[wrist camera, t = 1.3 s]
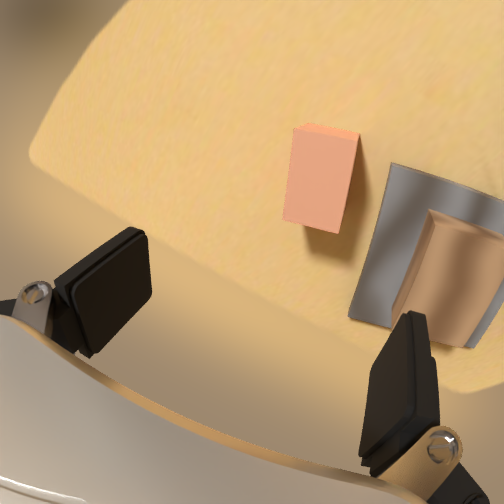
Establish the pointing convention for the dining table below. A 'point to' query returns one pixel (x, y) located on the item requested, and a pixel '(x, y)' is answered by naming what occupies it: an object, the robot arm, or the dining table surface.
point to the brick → (319, 176)
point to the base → (404, 238)
